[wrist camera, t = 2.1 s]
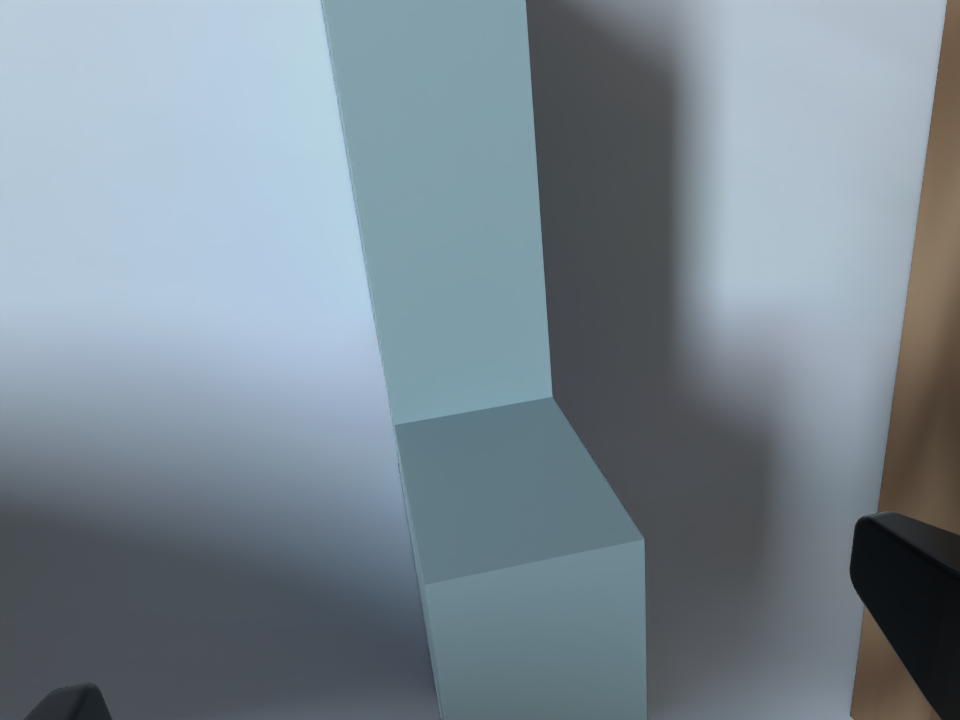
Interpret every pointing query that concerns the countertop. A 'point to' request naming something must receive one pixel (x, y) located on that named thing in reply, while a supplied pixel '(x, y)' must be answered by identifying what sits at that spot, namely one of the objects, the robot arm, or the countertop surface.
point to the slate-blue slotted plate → (481, 370)
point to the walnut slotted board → (924, 385)
